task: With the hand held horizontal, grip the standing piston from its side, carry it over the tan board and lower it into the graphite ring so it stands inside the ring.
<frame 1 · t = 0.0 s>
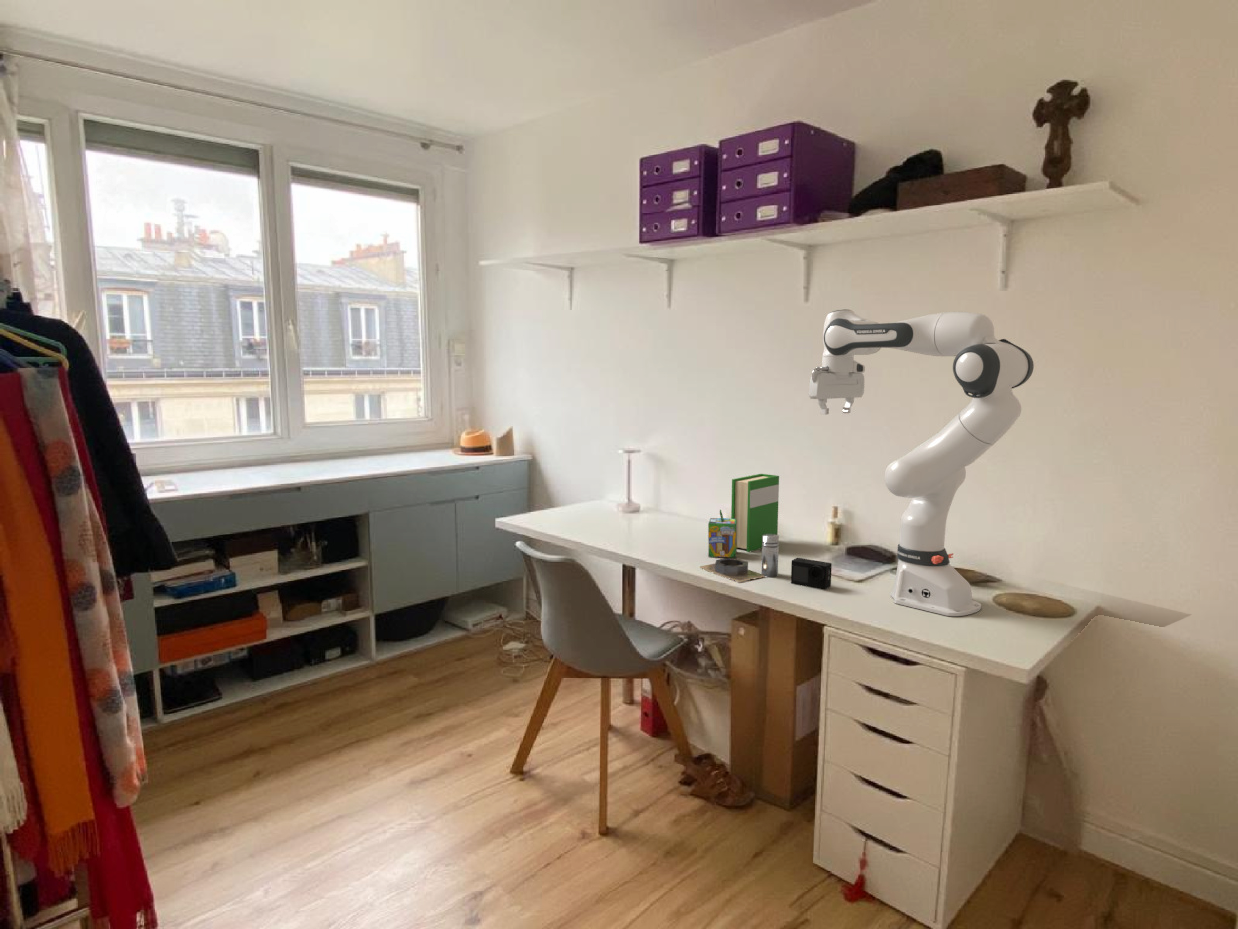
hand: (835, 413, 217), 48 cm above the table, tool pointing down, fingers open, 8 cm apart
digital camera: (809, 586, 209), on the table
chalk box: (722, 555, 244), on the table
piston: (769, 574, 220), on the table
hardback book: (754, 546, 255), on the table
ring board: (731, 572, 222), on the table
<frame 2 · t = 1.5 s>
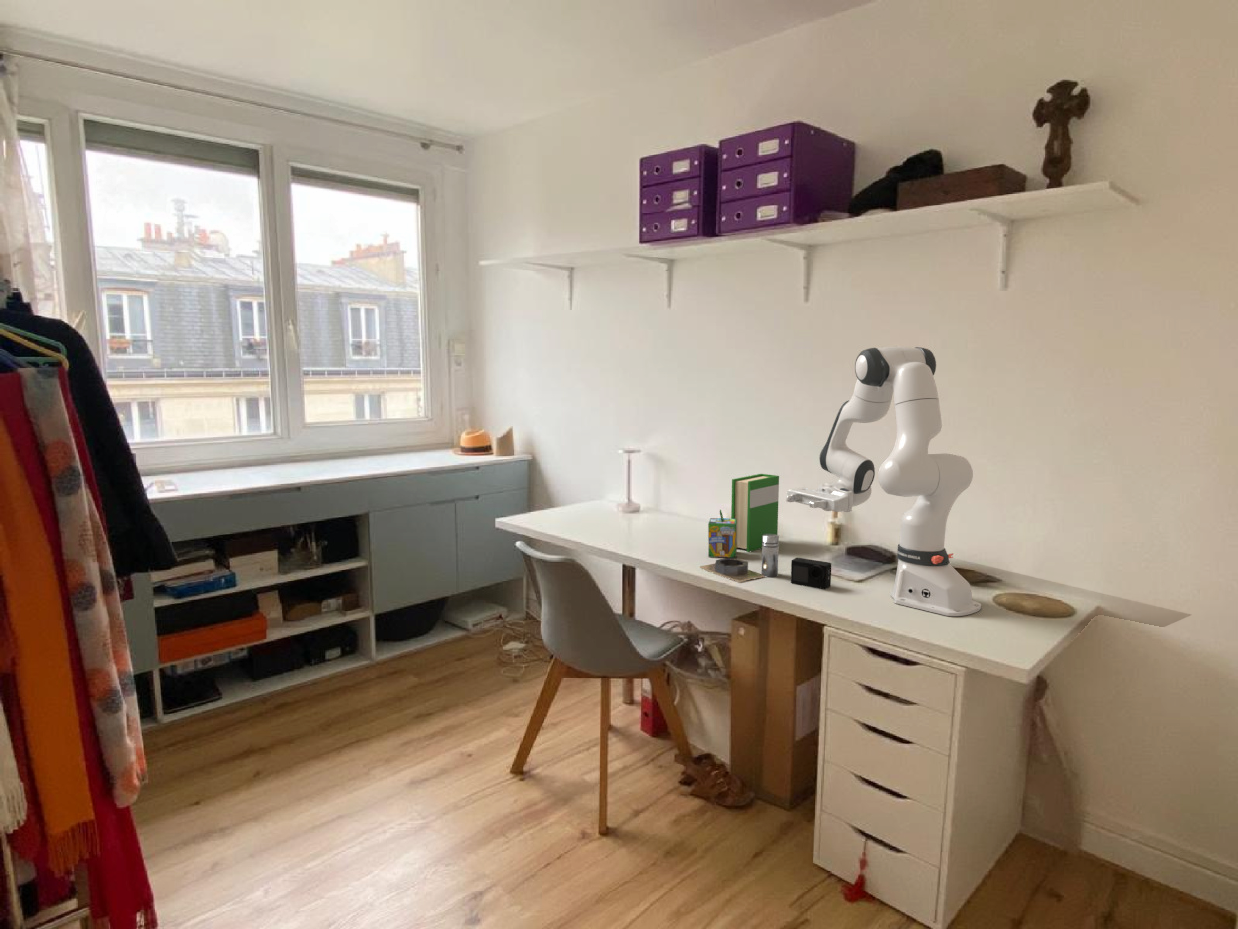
hand: (799, 502, 223), 21 cm above the table, tool horizontal, fingers open, 8 cm apart
nothing on the table moved.
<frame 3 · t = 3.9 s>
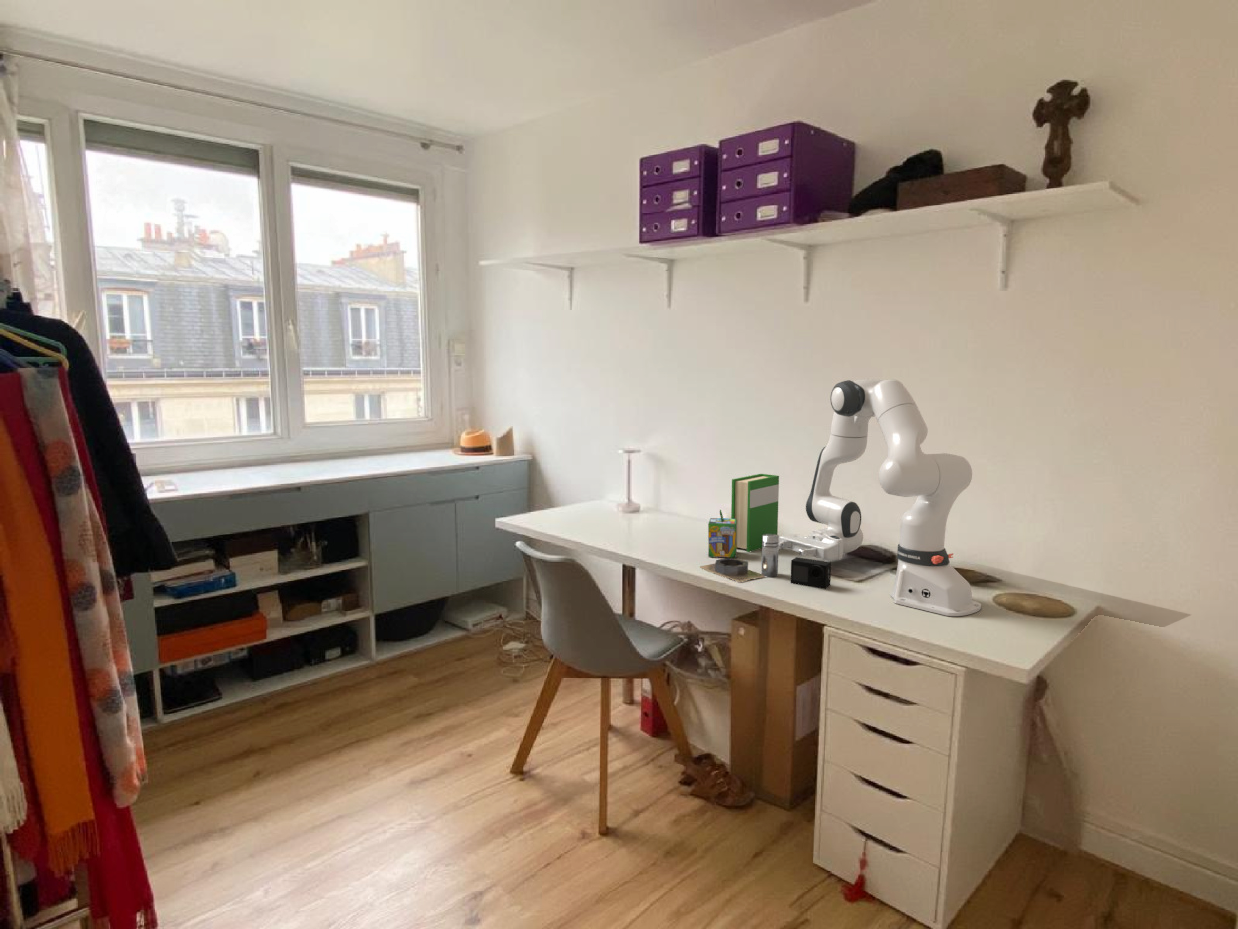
hand: (789, 549, 223), 7 cm above the table, tool horizontal, fingers open, 8 cm apart
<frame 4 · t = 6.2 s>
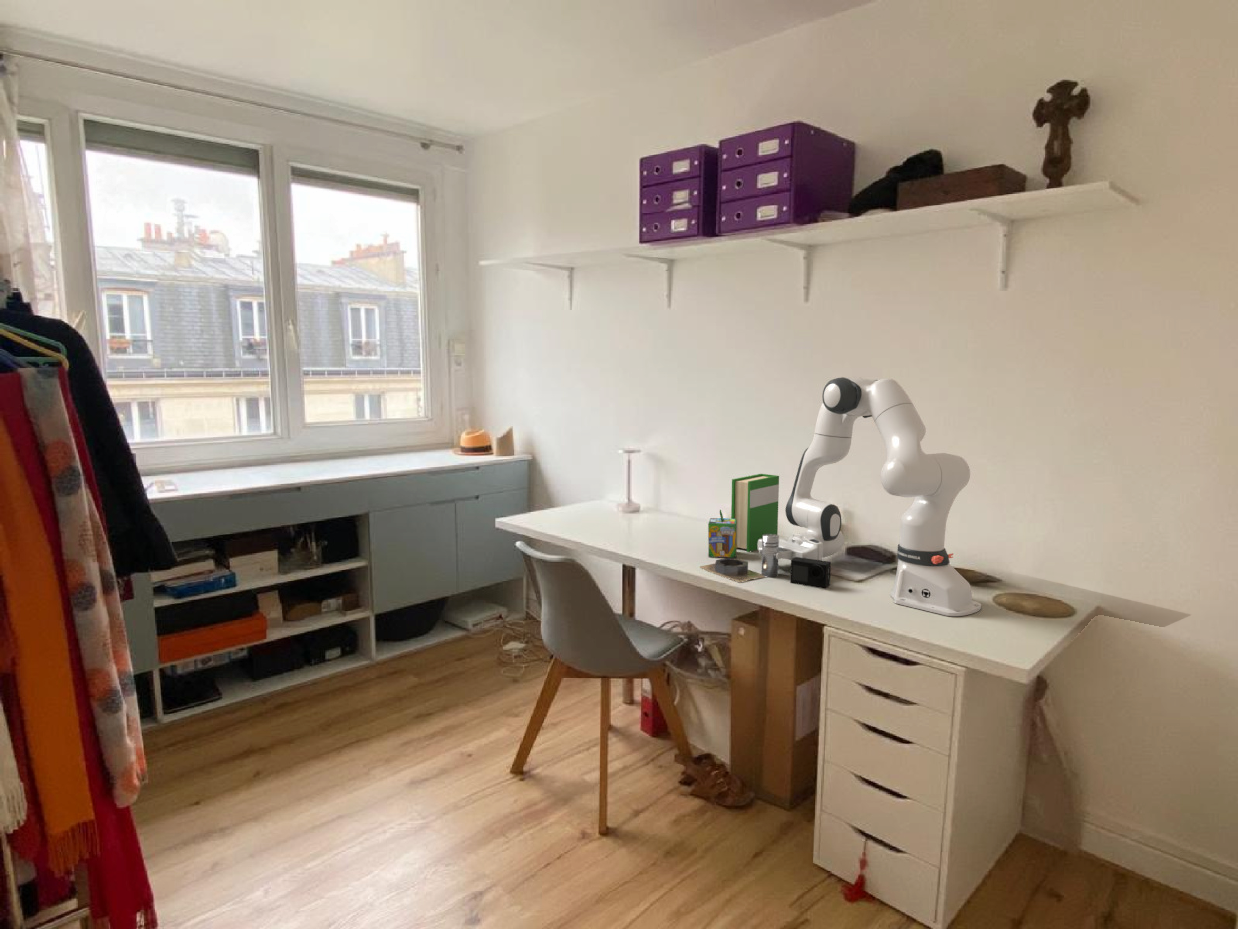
hand: (767, 553, 218), 7 cm above the table, tool horizontal, fingers closed on piston, 5 cm apart
piston: (769, 574, 220), on the table, touching gripper
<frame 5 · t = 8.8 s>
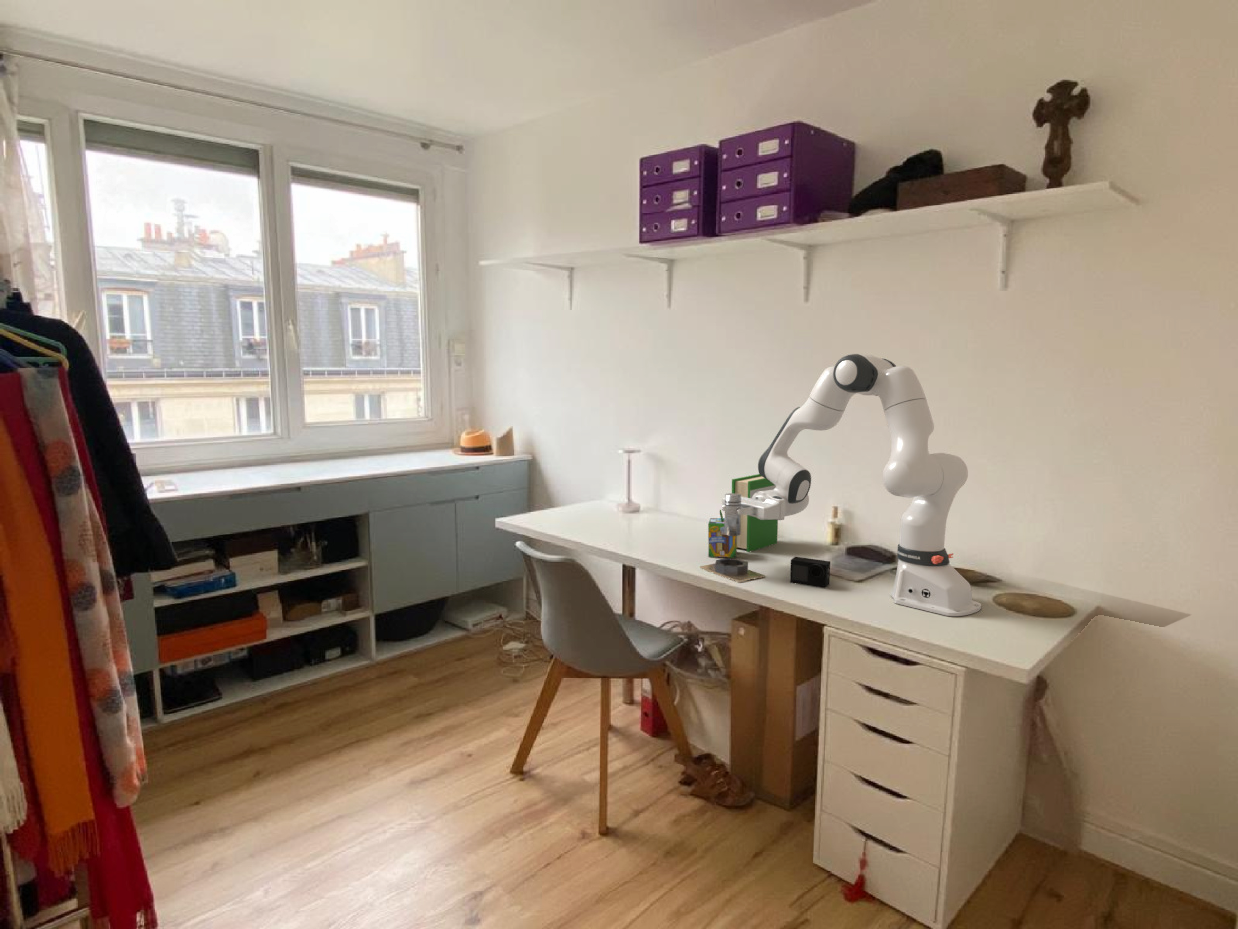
hand: (730, 510, 219), 19 cm above the table, tool horizontal, fingers closed on piston, 5 cm apart
piston: (732, 534, 221), point 12 cm above the table, touching gripper
when the fingers open (9 cm above the table, at t = 11.5 s): piston stays where it is, resting on ring board.
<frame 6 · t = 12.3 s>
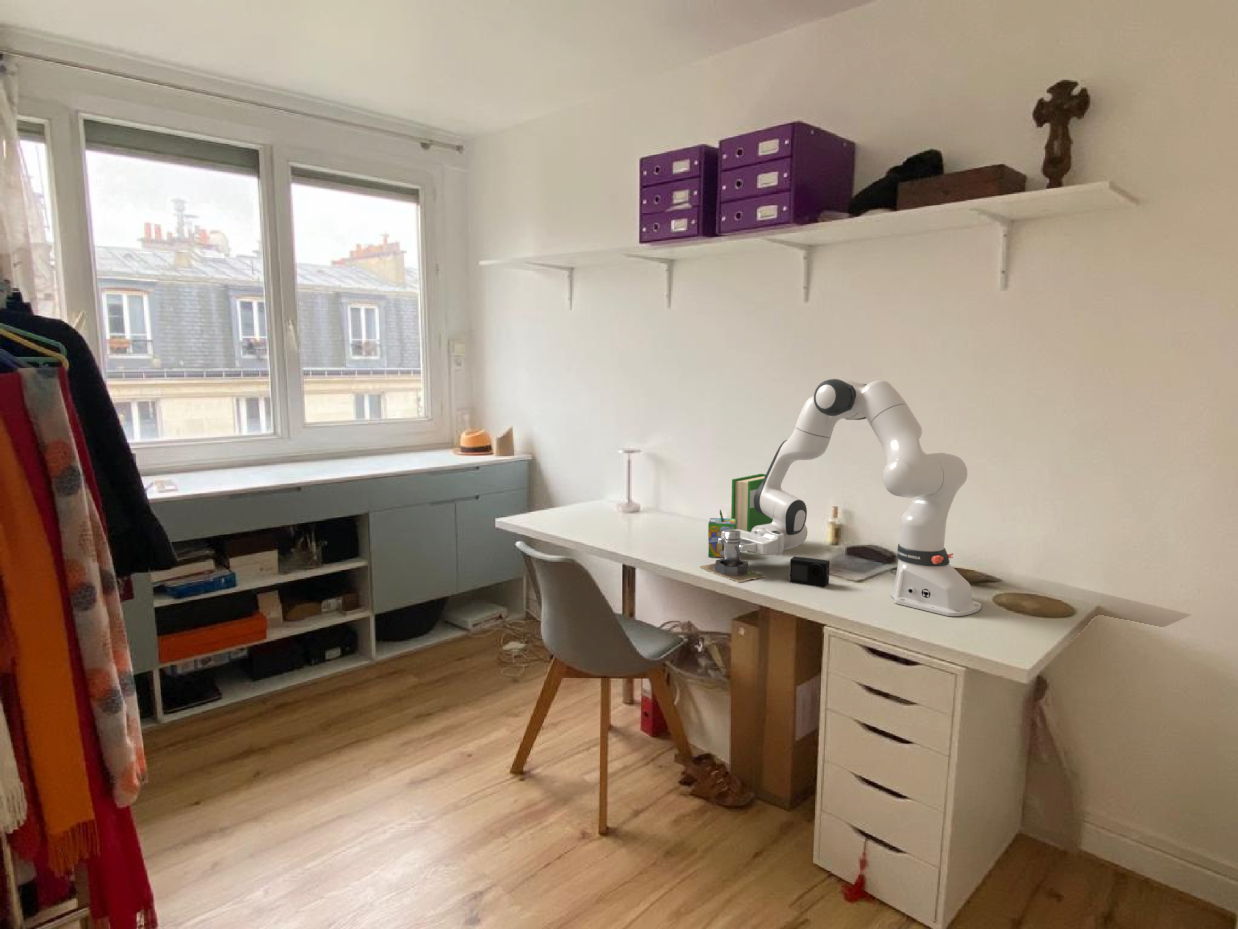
hand: (729, 545, 220), 9 cm above the table, tool horizontal, fingers open, 8 cm apart
piston: (731, 570, 222), point 1 cm above the table, touching ring board
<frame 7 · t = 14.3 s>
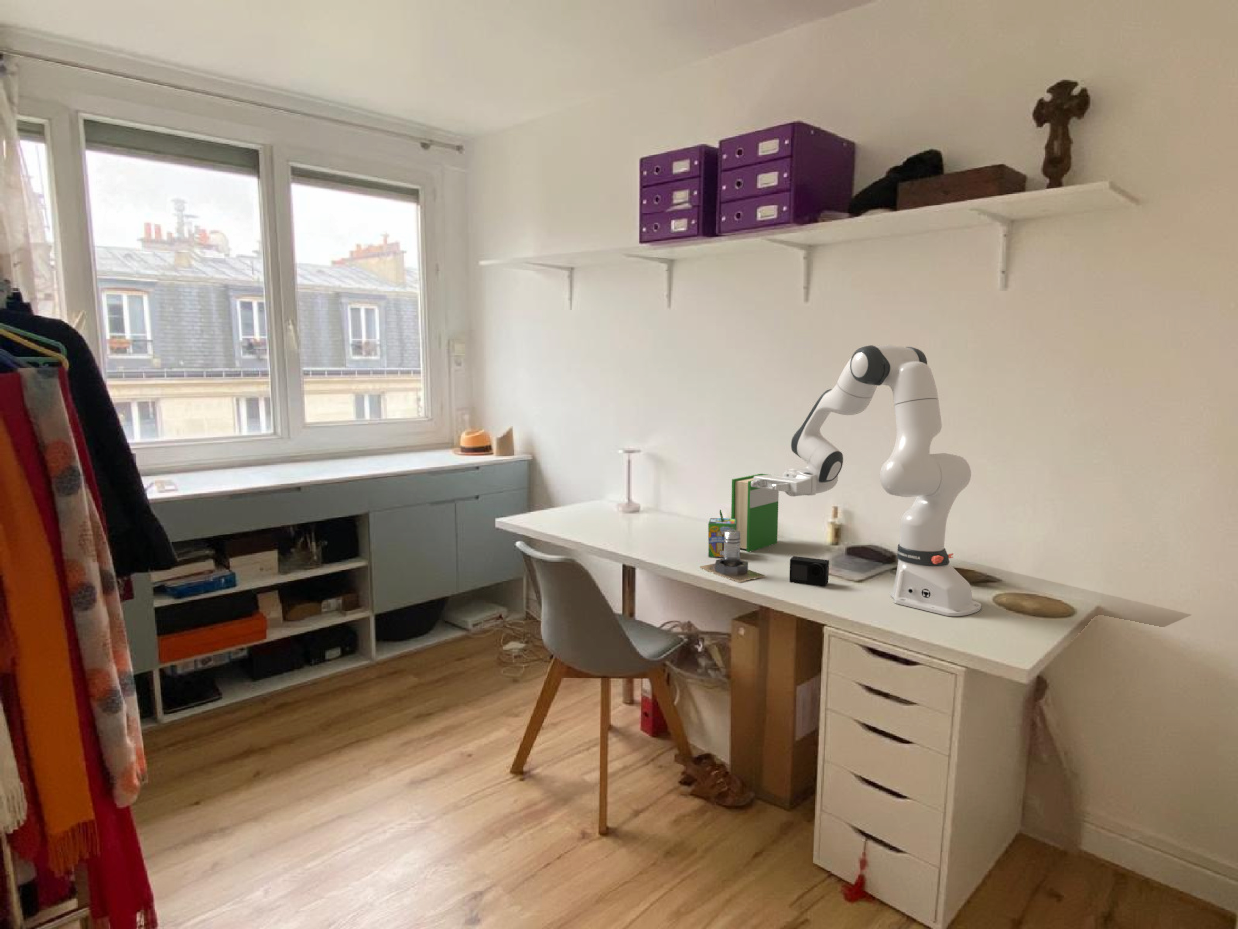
hand: (763, 485, 225), 26 cm above the table, tool horizontal, fingers open, 8 cm apart
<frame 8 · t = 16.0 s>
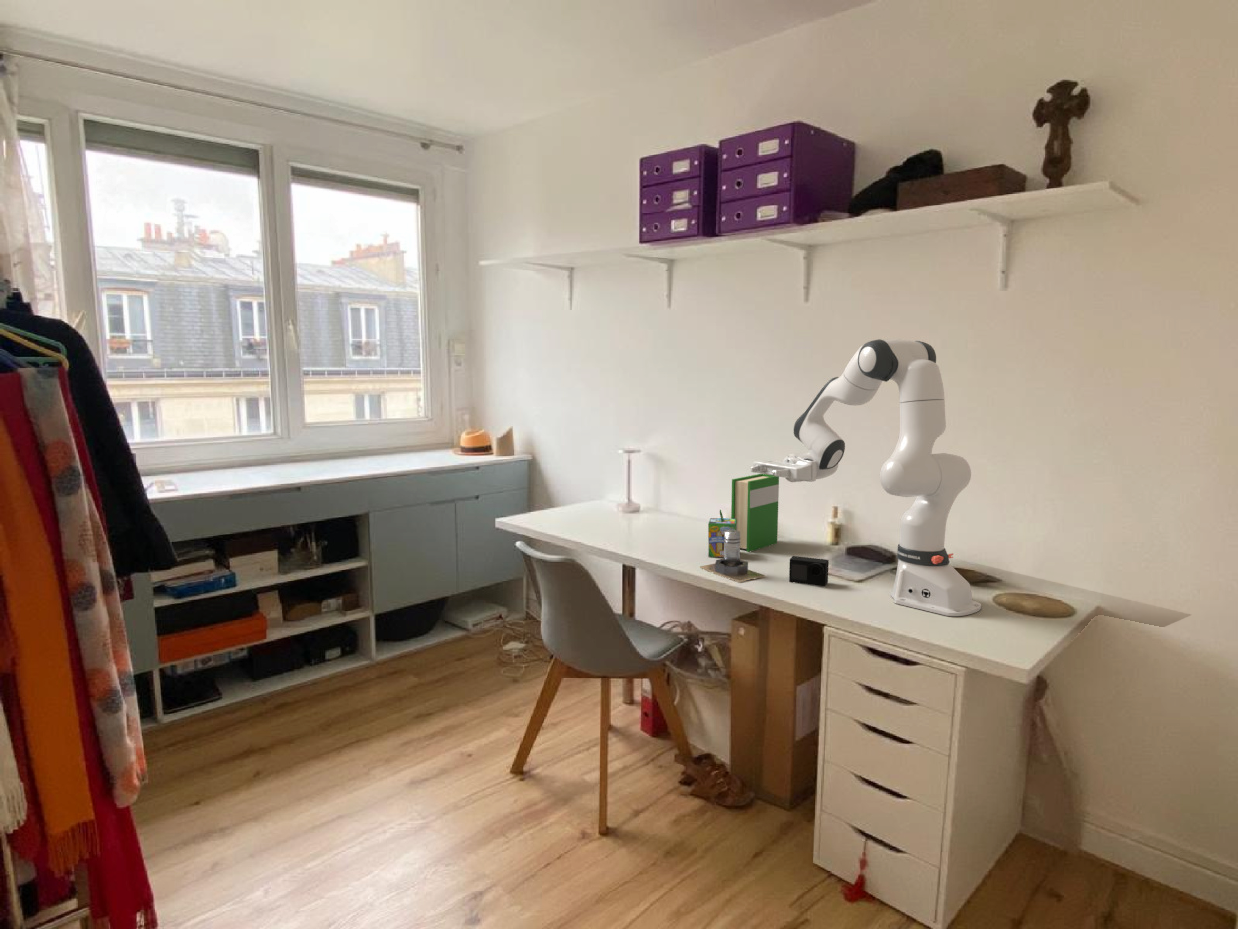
hand: (763, 471, 225), 30 cm above the table, tool horizontal, fingers open, 8 cm apart
at the end: piston 0.1 cm off-centre on the ring board, point 0.6 cm above the ring board's base; piston tilted 0°; the gripper is holding nothing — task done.
